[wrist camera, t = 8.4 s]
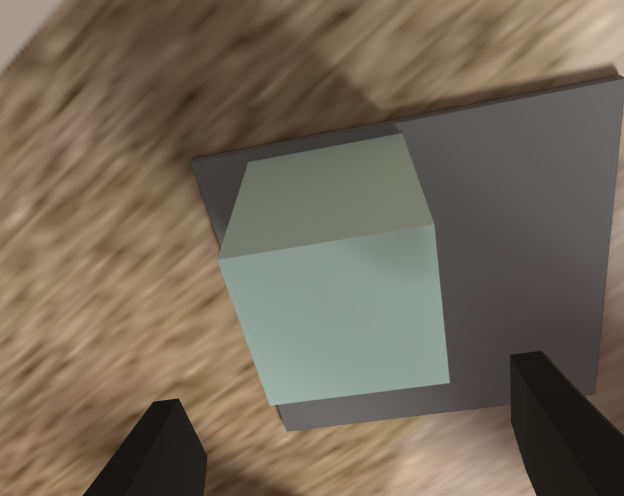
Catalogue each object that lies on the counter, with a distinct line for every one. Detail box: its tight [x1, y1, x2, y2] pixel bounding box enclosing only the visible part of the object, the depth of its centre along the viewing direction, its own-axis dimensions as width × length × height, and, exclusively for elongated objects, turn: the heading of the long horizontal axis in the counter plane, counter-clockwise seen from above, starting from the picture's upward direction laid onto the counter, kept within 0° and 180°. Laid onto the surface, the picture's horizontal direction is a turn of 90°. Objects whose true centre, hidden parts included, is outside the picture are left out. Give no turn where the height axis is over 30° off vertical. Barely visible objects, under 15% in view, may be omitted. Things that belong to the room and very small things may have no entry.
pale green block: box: [217, 133, 450, 406], centre depth 16 cm, size 5×5×6 cm
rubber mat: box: [191, 75, 624, 431], centre depth 21 cm, size 14×14×1 cm
